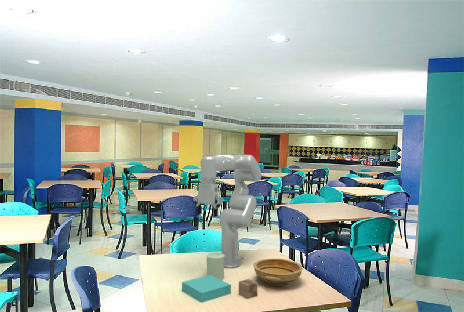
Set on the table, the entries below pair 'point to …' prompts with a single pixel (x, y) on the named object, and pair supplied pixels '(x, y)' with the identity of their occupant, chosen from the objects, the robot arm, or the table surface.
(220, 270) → the can
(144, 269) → the table surface
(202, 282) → the teal base
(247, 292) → the walnut cube
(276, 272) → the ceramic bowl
